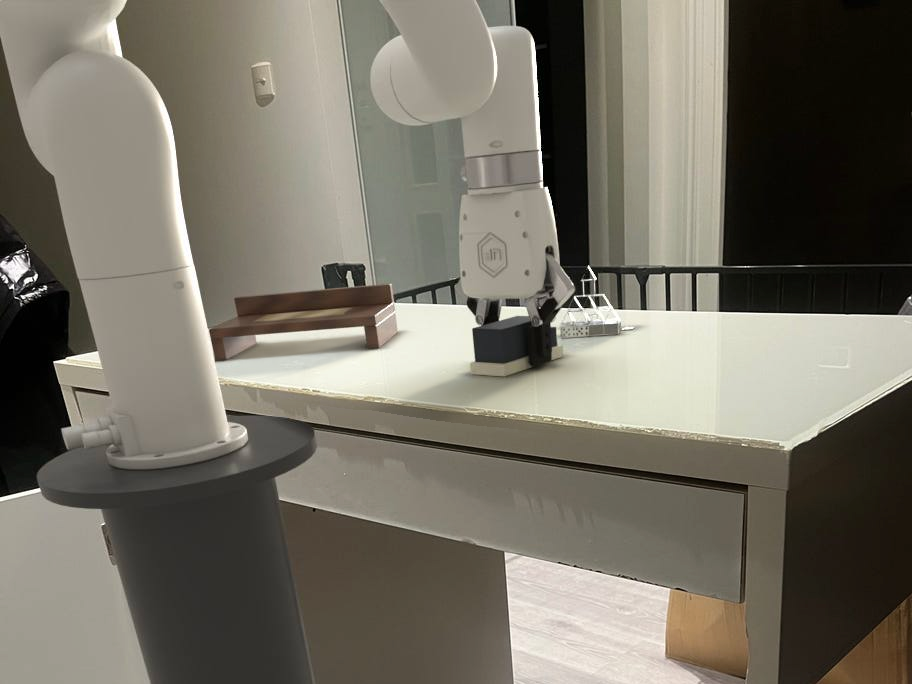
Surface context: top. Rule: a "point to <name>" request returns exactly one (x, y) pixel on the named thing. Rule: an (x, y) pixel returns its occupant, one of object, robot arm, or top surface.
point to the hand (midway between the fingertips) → (517, 360)
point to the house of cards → (591, 326)
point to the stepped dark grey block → (505, 347)
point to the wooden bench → (307, 316)
